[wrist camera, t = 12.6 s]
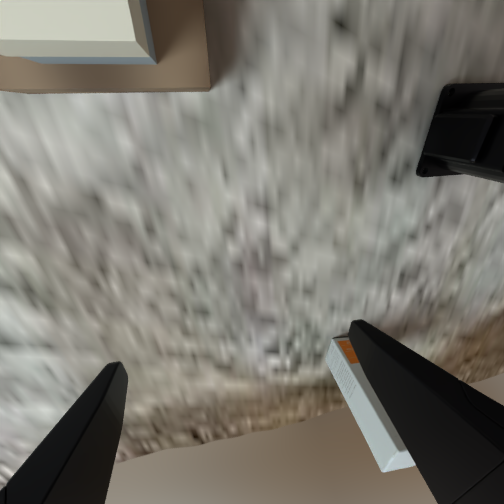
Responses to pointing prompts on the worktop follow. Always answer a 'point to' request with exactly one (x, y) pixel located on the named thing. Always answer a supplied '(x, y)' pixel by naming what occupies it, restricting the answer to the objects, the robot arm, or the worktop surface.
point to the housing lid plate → (72, 28)
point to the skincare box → (367, 407)
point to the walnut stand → (128, 75)
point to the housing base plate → (109, 60)
